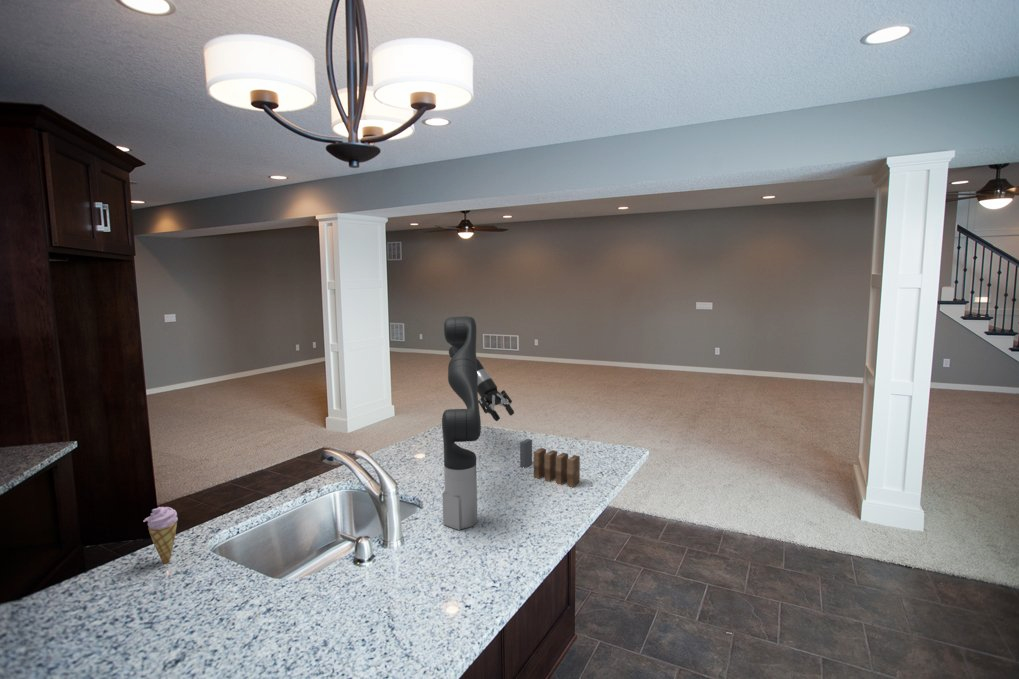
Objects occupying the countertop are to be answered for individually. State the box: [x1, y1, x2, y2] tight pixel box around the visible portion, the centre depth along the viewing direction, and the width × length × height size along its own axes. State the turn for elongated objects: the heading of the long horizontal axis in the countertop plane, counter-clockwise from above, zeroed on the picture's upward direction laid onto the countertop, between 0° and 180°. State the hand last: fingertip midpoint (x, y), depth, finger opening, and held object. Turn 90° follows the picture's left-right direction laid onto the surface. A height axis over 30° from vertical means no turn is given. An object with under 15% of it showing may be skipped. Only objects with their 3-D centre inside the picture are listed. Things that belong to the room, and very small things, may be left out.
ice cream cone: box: [143, 506, 179, 564], centre depth 128 cm, size 7×6×15 cm
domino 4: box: [555, 452, 569, 485], centre depth 176 cm, size 5×2×10 cm, turn 144°
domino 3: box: [544, 449, 558, 483], centre depth 179 cm, size 5×2×10 cm, turn 144°
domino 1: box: [519, 438, 533, 469], centre depth 192 cm, size 5×2×10 cm, turn 144°
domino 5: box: [566, 454, 581, 489], centre depth 174 cm, size 5×2×10 cm, turn 144°
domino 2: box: [533, 447, 547, 480], centre depth 181 cm, size 5×2×10 cm, turn 144°
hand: (505, 417), depth 197 cm, fingers open, 8 cm apart
